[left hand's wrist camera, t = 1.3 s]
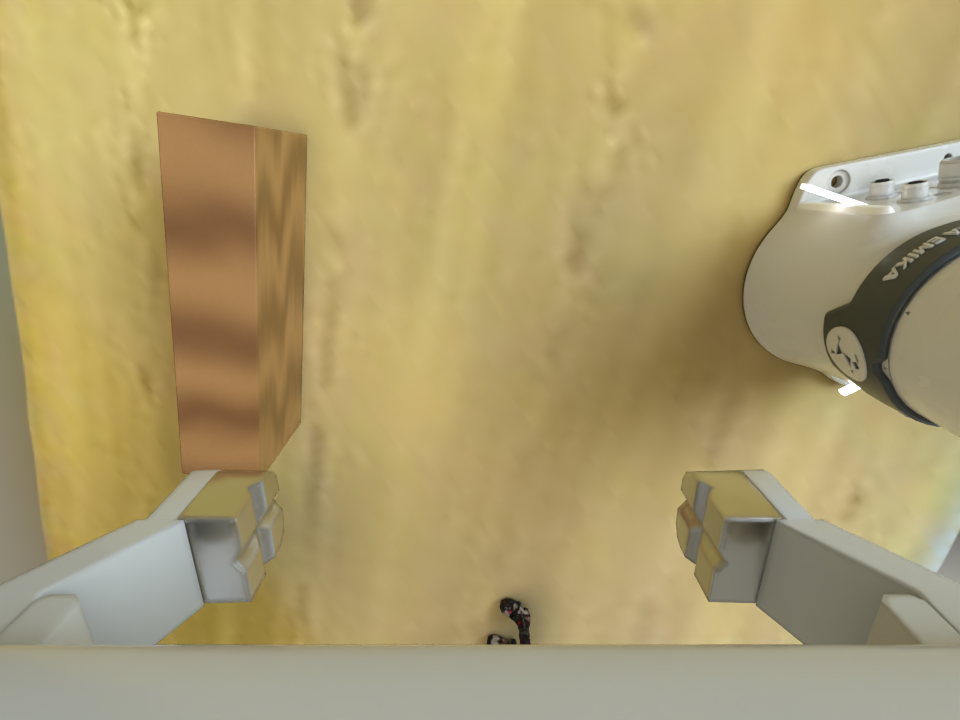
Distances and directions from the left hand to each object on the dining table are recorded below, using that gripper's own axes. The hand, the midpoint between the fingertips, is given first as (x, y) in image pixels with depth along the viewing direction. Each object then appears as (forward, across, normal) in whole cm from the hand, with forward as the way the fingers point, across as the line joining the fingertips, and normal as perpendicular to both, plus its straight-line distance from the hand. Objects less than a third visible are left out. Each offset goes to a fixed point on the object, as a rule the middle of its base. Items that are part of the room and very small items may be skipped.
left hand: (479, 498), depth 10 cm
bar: (+33, -17, -3) cm, 38 cm away
